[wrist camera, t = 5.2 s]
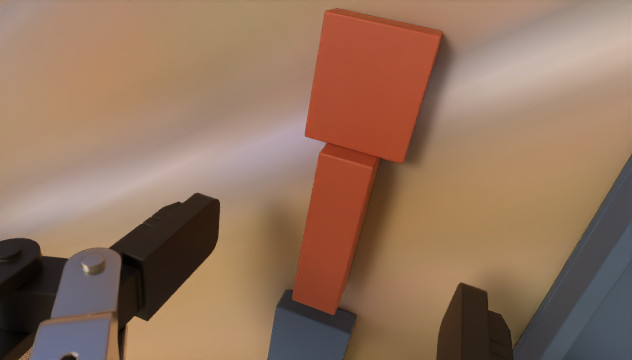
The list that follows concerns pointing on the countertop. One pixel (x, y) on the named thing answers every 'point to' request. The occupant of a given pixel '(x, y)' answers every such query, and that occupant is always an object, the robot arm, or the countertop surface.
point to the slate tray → (590, 291)
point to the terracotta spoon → (356, 135)
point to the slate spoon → (308, 332)
